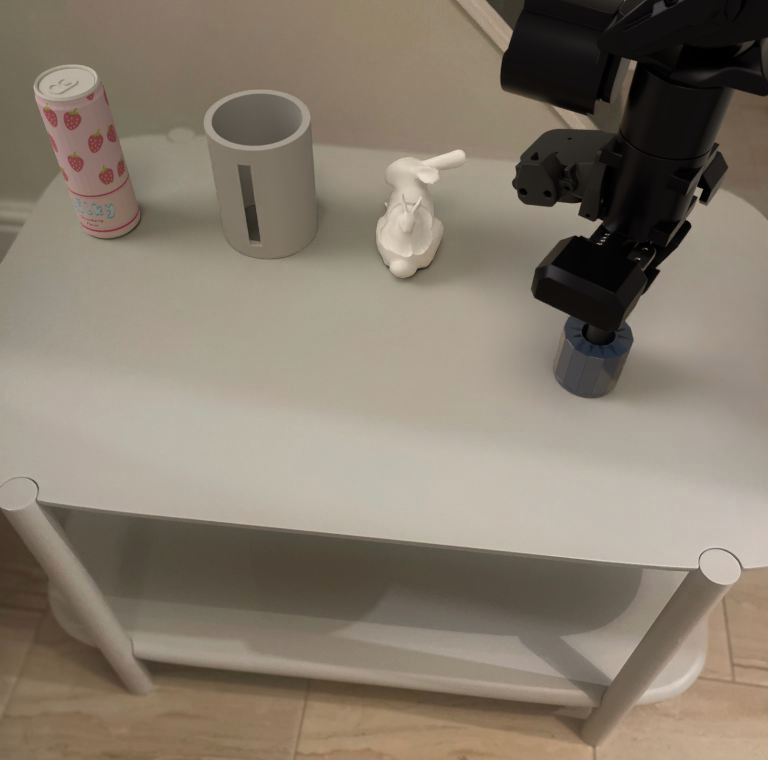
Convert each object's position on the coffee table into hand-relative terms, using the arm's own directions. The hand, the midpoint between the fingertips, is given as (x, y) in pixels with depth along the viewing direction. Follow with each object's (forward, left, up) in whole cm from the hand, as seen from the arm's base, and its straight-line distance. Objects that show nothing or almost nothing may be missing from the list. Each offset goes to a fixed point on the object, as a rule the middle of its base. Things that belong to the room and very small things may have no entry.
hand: (606, 308), depth 61 cm
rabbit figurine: (+6, -20, -8) cm, 22 cm away
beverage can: (+32, -35, -8) cm, 48 cm away
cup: (+18, -28, -8) cm, 34 cm away
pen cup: (0, 0, -8) cm, 8 cm away
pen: (0, 0, -6) cm, 6 cm away
